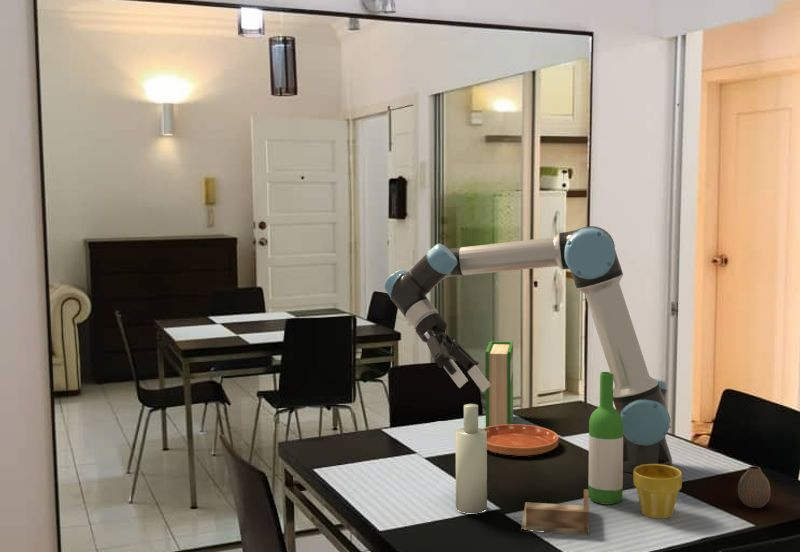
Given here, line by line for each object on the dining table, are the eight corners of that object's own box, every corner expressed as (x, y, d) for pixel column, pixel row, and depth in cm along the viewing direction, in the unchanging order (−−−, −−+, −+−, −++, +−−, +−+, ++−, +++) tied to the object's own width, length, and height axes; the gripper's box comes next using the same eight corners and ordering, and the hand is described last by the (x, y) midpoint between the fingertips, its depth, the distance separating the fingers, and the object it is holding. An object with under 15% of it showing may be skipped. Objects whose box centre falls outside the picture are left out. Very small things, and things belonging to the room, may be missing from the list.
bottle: (488, 504, 204) (488, 402, 201) (485, 515, 197) (484, 410, 194) (458, 502, 205) (457, 401, 203) (454, 513, 198) (453, 409, 196)
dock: (588, 510, 199) (588, 489, 198) (588, 535, 185) (588, 512, 185) (525, 507, 201) (525, 486, 201) (521, 530, 188) (521, 508, 187)
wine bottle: (585, 493, 210) (586, 369, 207) (618, 493, 209) (620, 369, 206) (591, 505, 202) (592, 376, 199) (625, 505, 202) (627, 376, 199)
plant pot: (653, 525, 190) (654, 481, 189) (623, 509, 199) (623, 467, 198) (691, 517, 194) (692, 474, 193) (659, 502, 203) (660, 461, 202)
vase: (767, 512, 196) (768, 474, 196) (734, 507, 200) (735, 469, 199) (772, 503, 202) (773, 465, 201) (740, 497, 206) (741, 461, 205)
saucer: (571, 443, 252) (571, 430, 251) (538, 465, 233) (538, 451, 232) (498, 432, 264) (498, 420, 264) (462, 452, 245) (462, 439, 244)
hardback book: (510, 431, 264) (510, 352, 261) (485, 430, 265) (485, 351, 263) (513, 416, 281) (513, 341, 279) (489, 415, 282) (489, 341, 280)
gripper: (438, 338, 234) (485, 399, 224) (392, 325, 213) (441, 392, 203) (458, 319, 232) (506, 380, 222) (413, 304, 211) (464, 371, 201)
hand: (475, 386), depth 213 cm, fingers open, 13 cm apart
